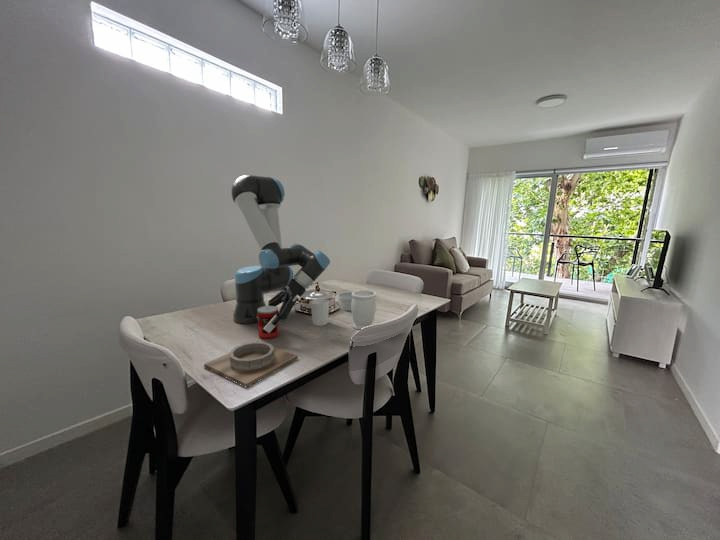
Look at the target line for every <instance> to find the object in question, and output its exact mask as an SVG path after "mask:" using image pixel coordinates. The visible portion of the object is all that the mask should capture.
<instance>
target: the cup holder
mask: <svg viewBox="0 0 720 540" xmlns="http://www.w3.org/2000/svg"><path fill="white" fill-rule="evenodd" d="M296 359H297V360H299V356H298V355H297V354H294V353H292V352H289V351H286V350H283V349H280V348H277V347H275V346H273V344H271V343H268V342H265V341H263V342H262V341H254V342H248V343H247V342H246V343H243V344H240V345H237V346H236V347H234V348H233V349H231V350H230V352H229V353H226V354H224V355H222V356H220V357H217V358H214V359H212V360H209V361H207V362H205V363H204V364H203V368H205V367H206V368H205V369H207V368H208V369H207V370H209V369H210V371H211V370H212V371H211V372H213V371H214V372H213V373H215V372H216V373H215V374H217V373H218V374H217V375H219V374H220V375H219V376H221V375H222V376H221V377H223V376H224V377H223V378H225V377H227V378H229V379H231V380H233V381H235V382H237V383H239V384H241V385H243V386H246V387H247V386H249V385H251V384H253V383H254V382H256V381H258V380H260V379H262V378H263V379H265V378H266V376H267V377H268V375H269V376H270V375H272V374H274V373H275V371H276V372H277V371H279V370H281V369H282V367H283V368H284V367H286V366H288V365H289V363H290V364H292V363H293V362H295V361H297V360H296ZM294 360H295V361H294ZM292 361H293V362H292ZM291 362H292V363H291ZM280 368H281V369H280ZM278 369H279V370H278ZM273 372H274V373H273ZM264 377H265V378H264ZM227 378H226V379H227ZM229 379H228V380H229ZM263 379H262V380H263ZM231 380H230V381H231ZM233 381H232V382H233ZM260 381H261V380H260ZM235 382H234V383H235ZM258 382H259V381H258ZM237 383H236V384H237ZM256 383H257V382H256ZM239 384H238V385H239ZM254 384H255V383H254ZM254 384H253V385H254ZM241 385H240V386H241ZM243 386H242V387H243ZM251 386H252V385H251ZM249 387H250V386H249ZM247 388H248V387H247Z"/></svg>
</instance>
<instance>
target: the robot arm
mask: <svg viewBox="0 0 720 540" xmlns="http://www.w3.org/2000/svg"><path fill="white" fill-rule="evenodd" d="M231 186H232V187H231V198H232V201H233V203H234V205H235V206H236V207H237V208H238V209H240V211H241V213H242V215H243V218H244V220H245V221H246V225H248V228H249V229H250V231H251V233H252V235H253V237H254V240H255V241H256V243H257V246H258V247H259V250H260V252H259V254H258V261H259V262H258V263H259V264H260V265H251V266H246V267H242V268H239V269H238V270H237V271H235V274H234V275H235V277H234V283H235V284H234V285H235V297H236V305H235V307H234V312H233V314H232V319H233V322H234V323H237V324H245V325H247V324H255V323H258V308H260V307H263V306H275V307H278V305H280V304H281V306H280V308H279V309H278V313H276V314H275V316H274V317H273V318H272V319H271V320H270V322H269V323H268V324H267V325H266V326H265V327H264V328H263V329H264V330H266V331H267V332H268V333H270V332H271V331H272V330H273V328H274V327H275V326H276V325H277V324H278V323H280V321H282V320H284V321H285V320H286V319H287V318H288V316H289V314H290V313H291V311H292V309H293V308H294V306H295V304H296V303H297V301H298V300H299V297H302V296H303V295H304V294H305V293H306V291H307V290H306V289H309V288H310V287H311V286H313V283H315V281H316V280H317V279H318V278H319V276H320V275H322V273H323V272H325V270H326V269H327V268H328V267H329V265H330V264H331V259H330V258H329V257H328V256H327V254H325V253H324V252H322V251H321V250H316V252H314V253H313V252H312V251H311V250H309V249H308V248H306V246H304V245H302V244H299V243H292V245H290V246H289V247H283V244H282V236H281V235H282V234H281V226H280V218H279V217H280V216H279V208H280V207H281V203H282V202H283V201H284V199H285V198H284V197H285V188H284V186H283V184H282V181H280V180H279V179H277V178H273V177H269V176H260V175H252V174H244V175H240V176H238V178H237V179H235V180H234V182H233V184H232V185H231ZM293 266H299V267H301V268H300V269H299V270H298V271H297V272H296V273H295V274H294V271H293V269H292V267H293ZM273 292H274V293H275V292H278V293H277V294H276V295H275V296H273V297H272V298H271V299H269V300H268V304H266V301H265V298H264V297H265V295H264V294H269V293H273ZM297 296H299V297H297Z"/></svg>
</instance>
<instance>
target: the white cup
mask: <svg viewBox="0 0 720 540" xmlns="http://www.w3.org/2000/svg"><path fill="white" fill-rule="evenodd" d="M310 306H311V308H310V309H311V318H312V325H314V326H320V327H321V326H322V327H323V326H326V325H327V324H328V323H329V315H330V312H329V310H330V300H328V299H325V298H317V299H313V300H311V301H310Z"/></svg>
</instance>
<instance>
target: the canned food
mask: <svg viewBox="0 0 720 540" xmlns="http://www.w3.org/2000/svg"><path fill="white" fill-rule="evenodd" d="M278 312H279V307H278V306H268V305H266V306H263V307H260V308H258V322H257V330H258V331H257V333H258V337H259V338H260V339H263V340H272V339H275V338H277V337H278V336H279V333H280V327H279V323H280V322H279V323H278V324H277V325H276V326H275V327H274V328H273V330H272V331H271V332H270V333H268V332H267V331H266V330H264V329H263V328H264V327H265V326H266V325H267V324H268V323H269V322H270V320H271V319H272V318H273V317H274V316H275V314H276V313H278Z"/></svg>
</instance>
